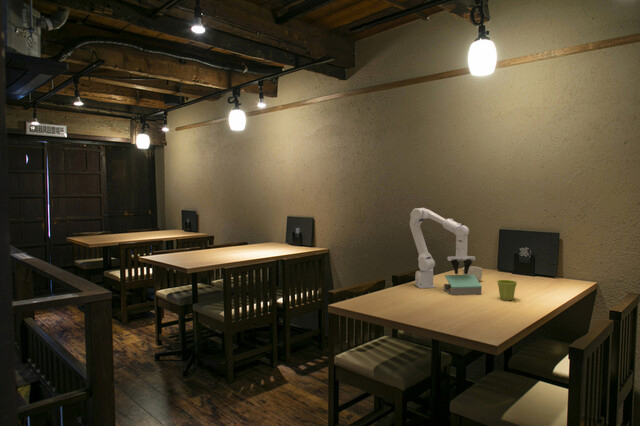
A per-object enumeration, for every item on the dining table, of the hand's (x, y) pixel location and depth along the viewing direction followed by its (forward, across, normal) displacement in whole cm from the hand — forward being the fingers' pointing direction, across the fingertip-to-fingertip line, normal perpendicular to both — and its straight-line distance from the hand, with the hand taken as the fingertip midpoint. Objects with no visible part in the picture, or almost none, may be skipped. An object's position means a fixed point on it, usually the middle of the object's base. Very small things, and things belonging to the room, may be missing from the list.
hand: (461, 273), depth 225 cm
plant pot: (+10, +16, -17) cm, 25 cm away
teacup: (+10, +18, +25) cm, 32 cm away
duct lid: (+4, 0, -2) cm, 4 cm away
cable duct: (+9, 0, -2) cm, 10 cm away
